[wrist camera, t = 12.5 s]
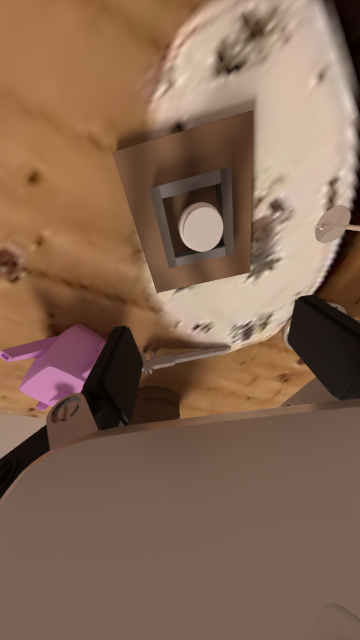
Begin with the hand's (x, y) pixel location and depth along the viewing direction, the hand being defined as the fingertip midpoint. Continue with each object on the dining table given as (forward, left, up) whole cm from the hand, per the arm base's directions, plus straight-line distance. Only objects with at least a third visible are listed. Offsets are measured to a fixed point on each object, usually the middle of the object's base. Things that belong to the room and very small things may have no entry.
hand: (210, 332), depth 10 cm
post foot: (-2, -4, -21) cm, 21 cm away
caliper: (+4, +21, -21) cm, 30 cm away
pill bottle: (-2, -4, -20) cm, 20 cm away
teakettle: (+26, +16, -21) cm, 37 cm away
